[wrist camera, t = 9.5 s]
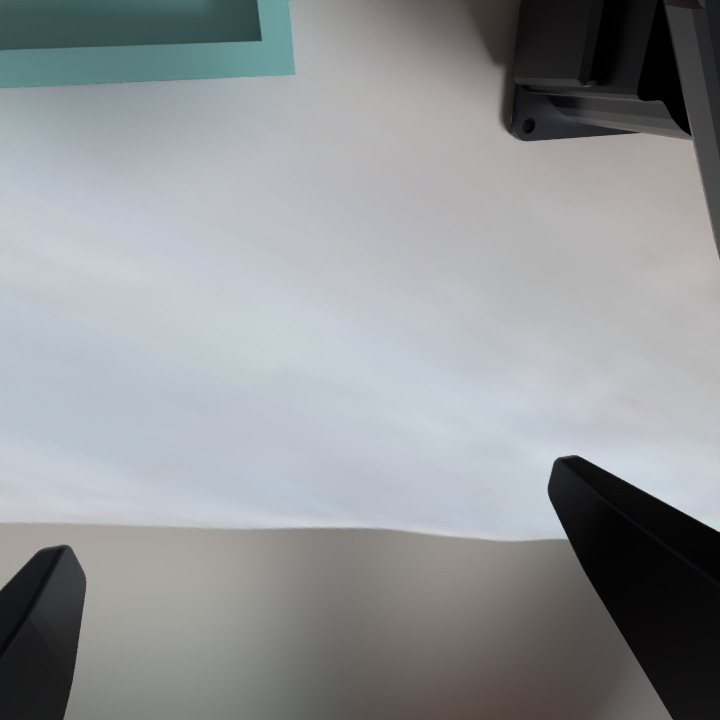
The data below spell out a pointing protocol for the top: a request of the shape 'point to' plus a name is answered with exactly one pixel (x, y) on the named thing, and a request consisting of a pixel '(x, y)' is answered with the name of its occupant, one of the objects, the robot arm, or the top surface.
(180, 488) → the top surface
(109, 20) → the desk tray
